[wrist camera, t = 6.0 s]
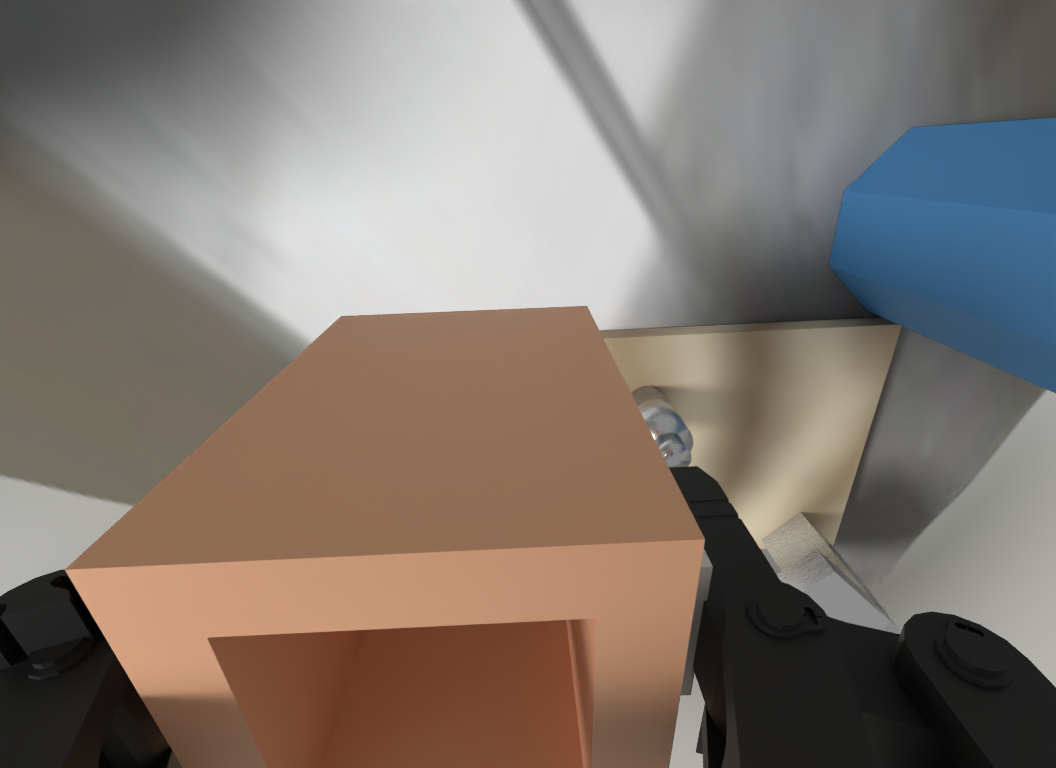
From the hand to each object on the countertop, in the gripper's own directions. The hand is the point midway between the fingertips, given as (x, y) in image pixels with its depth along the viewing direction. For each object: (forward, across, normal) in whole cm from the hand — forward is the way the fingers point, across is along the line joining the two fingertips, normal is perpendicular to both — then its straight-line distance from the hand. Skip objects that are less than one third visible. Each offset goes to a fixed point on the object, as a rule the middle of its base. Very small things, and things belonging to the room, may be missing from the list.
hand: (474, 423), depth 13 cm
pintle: (+12, +8, -6) cm, 16 cm away
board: (+13, +13, -10) cm, 21 cm away
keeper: (+13, +16, -14) cm, 24 cm away
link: (0, 0, -4) cm, 4 cm away
